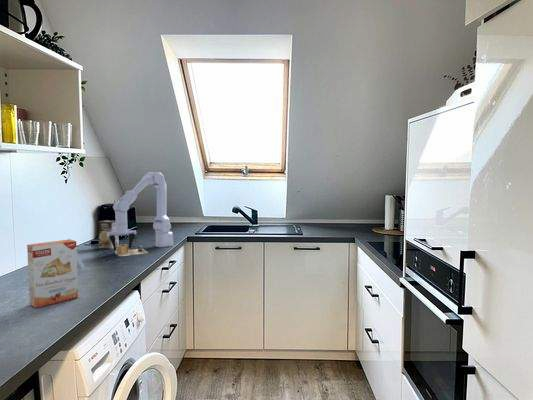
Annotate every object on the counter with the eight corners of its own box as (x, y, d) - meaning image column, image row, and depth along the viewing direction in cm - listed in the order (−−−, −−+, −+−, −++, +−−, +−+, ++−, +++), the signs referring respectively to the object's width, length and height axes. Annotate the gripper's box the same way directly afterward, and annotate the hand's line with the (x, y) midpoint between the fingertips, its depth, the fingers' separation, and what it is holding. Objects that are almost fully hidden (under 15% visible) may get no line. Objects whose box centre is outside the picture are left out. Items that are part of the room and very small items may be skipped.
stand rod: (141, 250, 205) (141, 245, 204) (142, 251, 203) (142, 245, 203) (137, 251, 204) (137, 245, 203) (138, 251, 202) (138, 246, 202)
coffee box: (98, 249, 213) (97, 221, 212) (106, 247, 219) (105, 219, 218) (112, 250, 210) (111, 222, 209) (119, 247, 217) (118, 220, 215)
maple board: (142, 250, 210) (142, 248, 210) (148, 254, 199) (148, 252, 199) (114, 253, 203) (114, 251, 203) (119, 258, 192) (118, 256, 192)
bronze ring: (127, 251, 202) (126, 244, 202) (129, 253, 198) (129, 245, 197) (115, 252, 200) (115, 245, 199) (117, 254, 195) (117, 247, 194)
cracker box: (35, 309, 123) (31, 246, 121) (29, 304, 127) (25, 244, 125) (79, 298, 134) (76, 240, 132) (72, 294, 138) (70, 238, 136)
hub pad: (128, 251, 204) (128, 250, 204) (131, 253, 197) (131, 253, 197) (114, 252, 200) (114, 252, 200) (116, 255, 194) (116, 255, 194)
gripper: (108, 225, 190) (109, 251, 191) (137, 223, 198) (138, 248, 199) (105, 223, 196) (106, 249, 197) (134, 221, 204) (135, 246, 205)
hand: (122, 248), depth 198 cm, fingers open, 7 cm apart
